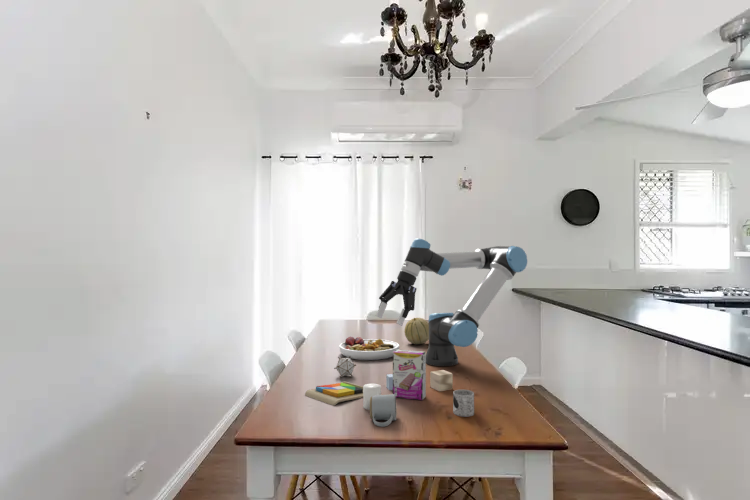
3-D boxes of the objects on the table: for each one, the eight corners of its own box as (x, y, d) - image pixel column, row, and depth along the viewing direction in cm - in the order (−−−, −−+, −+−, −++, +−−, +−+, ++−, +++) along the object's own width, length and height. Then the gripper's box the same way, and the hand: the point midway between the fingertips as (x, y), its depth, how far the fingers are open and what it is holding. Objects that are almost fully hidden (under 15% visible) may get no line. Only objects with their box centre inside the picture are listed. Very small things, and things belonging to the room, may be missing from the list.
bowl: (409, 352, 244) (409, 337, 244) (378, 364, 219) (378, 347, 219) (361, 346, 260) (361, 331, 260) (327, 357, 235) (327, 341, 235)
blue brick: (406, 386, 185) (406, 373, 185) (409, 389, 181) (409, 375, 181) (386, 387, 183) (386, 374, 183) (388, 390, 179) (388, 377, 179)
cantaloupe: (434, 342, 268) (434, 316, 267) (426, 347, 254) (426, 319, 254) (409, 340, 274) (409, 314, 274) (400, 345, 260) (400, 318, 260)
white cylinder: (379, 403, 164) (378, 383, 164) (383, 409, 158) (382, 388, 158) (361, 404, 163) (361, 384, 163) (365, 410, 157) (365, 389, 157)
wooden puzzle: (374, 395, 175) (374, 385, 175) (334, 407, 161) (334, 397, 161) (342, 385, 187) (342, 376, 187) (303, 396, 174) (303, 387, 173)
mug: (452, 409, 158) (452, 389, 158) (473, 409, 157) (473, 389, 157) (454, 420, 148) (454, 398, 148) (476, 420, 147) (476, 399, 147)
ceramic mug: (370, 414, 153) (370, 390, 153) (396, 415, 152) (396, 391, 152) (368, 427, 142) (368, 402, 142) (396, 428, 142) (395, 402, 142)
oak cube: (443, 385, 185) (443, 369, 185) (452, 389, 180) (452, 373, 180) (430, 387, 183) (430, 371, 183) (439, 391, 177) (439, 375, 177)
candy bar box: (392, 397, 170) (392, 351, 170) (396, 393, 175) (396, 349, 174) (423, 401, 166) (422, 354, 166) (426, 396, 171) (426, 351, 171)
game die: (348, 386, 197) (352, 370, 192) (329, 377, 199) (333, 362, 193) (356, 371, 204) (360, 355, 199) (338, 363, 206) (342, 347, 200)
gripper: (384, 266, 207) (364, 311, 203) (423, 274, 187) (401, 325, 184) (395, 272, 211) (376, 317, 208) (435, 282, 192) (414, 331, 188)
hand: (388, 320), depth 196 cm, fingers open, 13 cm apart
